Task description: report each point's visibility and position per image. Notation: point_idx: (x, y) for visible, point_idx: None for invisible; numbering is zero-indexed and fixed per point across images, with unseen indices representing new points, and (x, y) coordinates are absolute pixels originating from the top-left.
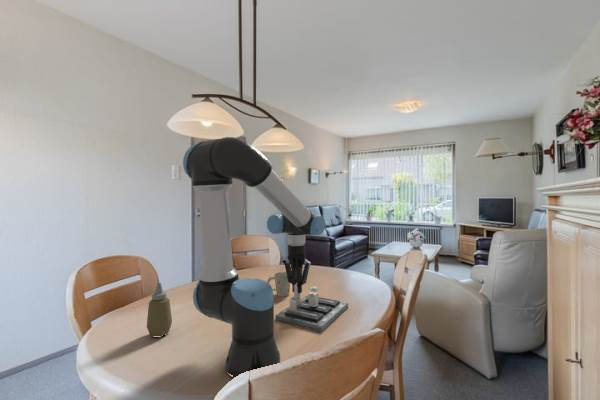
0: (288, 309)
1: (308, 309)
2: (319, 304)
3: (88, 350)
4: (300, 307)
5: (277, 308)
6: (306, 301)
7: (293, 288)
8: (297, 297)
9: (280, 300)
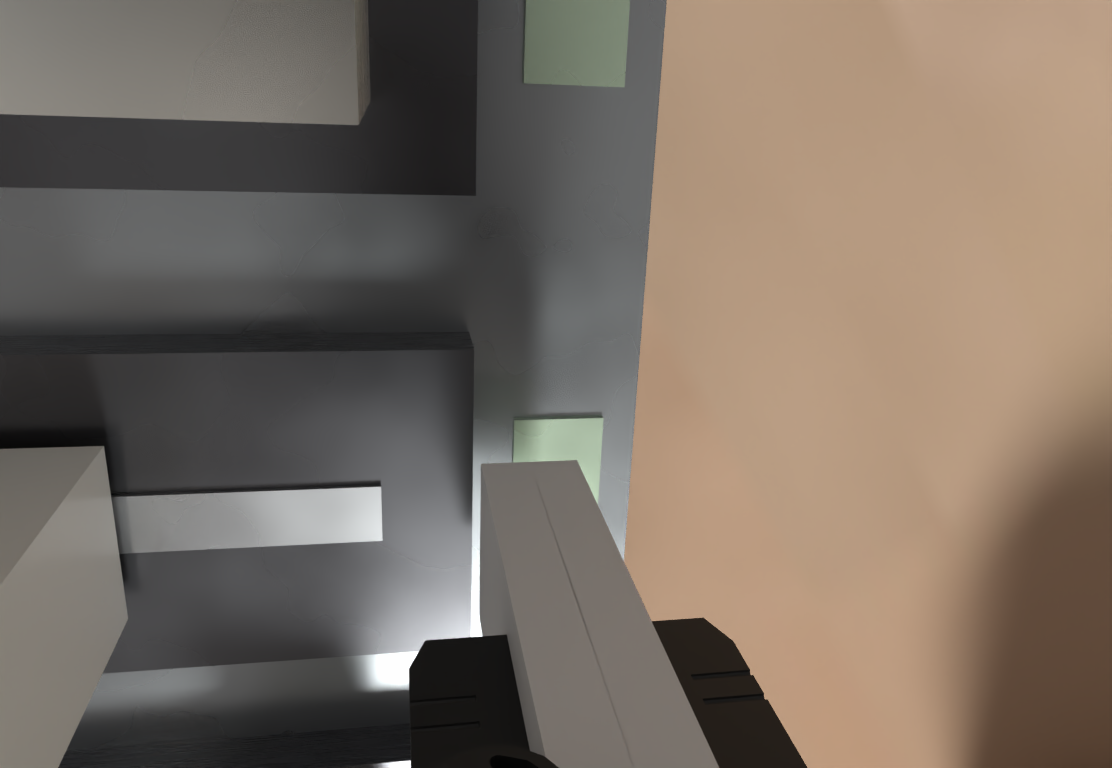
0: (571, 162)
1: (69, 344)
2: (79, 752)
3: None
4: (318, 342)
5: (903, 318)
6: None
7: (720, 705)
8: (140, 99)
9: (1001, 653)
